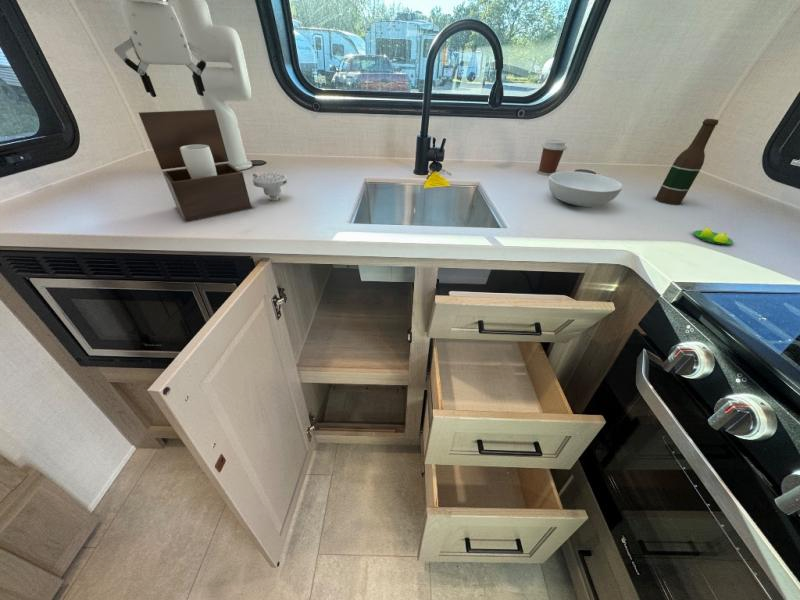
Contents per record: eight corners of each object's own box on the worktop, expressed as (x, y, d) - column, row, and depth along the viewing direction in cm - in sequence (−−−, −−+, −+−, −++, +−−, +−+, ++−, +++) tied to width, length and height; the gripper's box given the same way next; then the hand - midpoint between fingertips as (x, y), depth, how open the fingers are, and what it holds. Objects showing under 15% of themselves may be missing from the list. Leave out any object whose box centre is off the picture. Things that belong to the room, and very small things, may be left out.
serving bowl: (529, 194, 106) (535, 173, 102) (574, 189, 113) (582, 168, 109) (579, 217, 91) (588, 193, 87) (628, 208, 98) (638, 186, 94)
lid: (214, 109, 83) (209, 106, 86) (138, 112, 74) (135, 109, 77) (228, 161, 91) (223, 157, 94) (161, 169, 82) (158, 164, 85)
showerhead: (261, 169, 96) (291, 172, 94) (266, 193, 100) (295, 196, 99) (243, 177, 88) (275, 180, 87) (249, 203, 93) (280, 206, 91)
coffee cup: (562, 174, 129) (573, 142, 122) (549, 177, 125) (559, 144, 118) (543, 169, 135) (552, 138, 128) (530, 171, 131) (538, 139, 124)
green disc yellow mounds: (698, 242, 80) (705, 232, 78) (688, 230, 86) (694, 220, 84) (737, 248, 78) (745, 238, 76) (723, 235, 84) (730, 225, 82)
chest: (251, 208, 90) (242, 172, 84) (186, 221, 81) (170, 182, 75) (238, 196, 97) (228, 162, 91) (176, 207, 88) (162, 171, 82)
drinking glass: (232, 203, 90) (215, 146, 81) (211, 211, 85) (191, 151, 76) (215, 199, 92) (197, 143, 83) (194, 206, 87) (172, 147, 78)
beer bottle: (673, 206, 101) (721, 121, 87) (649, 198, 107) (690, 117, 93) (686, 203, 104) (734, 120, 90) (662, 195, 110) (703, 117, 96)
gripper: (188, 1, 70) (213, 93, 80) (88, -10, 61) (131, 95, 71) (196, -2, 65) (222, 96, 76) (89, -15, 56) (135, 98, 67)
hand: (178, 95), depth 73 cm, fingers open, 9 cm apart
